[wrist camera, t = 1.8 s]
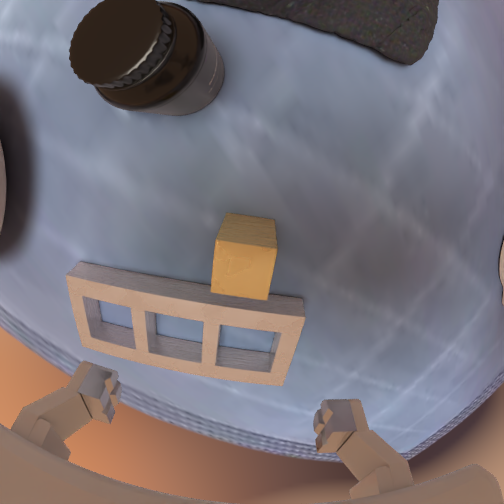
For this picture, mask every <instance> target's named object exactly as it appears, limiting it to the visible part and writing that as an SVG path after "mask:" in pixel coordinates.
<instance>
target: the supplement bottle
mask: <svg viewBox="0 0 504 504" xmlns="http://www.w3.org/2000/svg"><path fill="white" fill-rule="evenodd" d="M69 52H70V56H69V60H70V61H71V67H72V68H73V71H74V73H75V74H77V76H78V78H79V79H81V80H83V81H84V82H85V83H87V84H92V85H93V86H94V87H95V89H96V91H97V92H98V94H99V95H100V96H101V97H102V98H103V99H104V100H105V101H106V102H107V103H109V104H111V105H112V106H114V107H117V108H120V109H123V110H128V111H136V112H146V113H155V114H163V115H171V116H182V115H188V114H191V113H194V112H197V111H199V110H200V109H202V108H204V107H205V106H207V105H208V104H209V103H210V102H211V101H212V100H213V99H214V98H215V96H216V95H217V94H218V92H219V90H220V88H221V86H222V83H223V79H224V65H223V61H222V58H221V56H220V54H219V52H218V50H217V49H216V47H215V45H214V44H213V42H212V40H211V39H210V37H209V35H208V34H207V32H206V30H205V29H204V27H203V25H202V24H201V22H200V21H199V20H198V18H197V17H196V16H195V15H194V14H193V13H192V12H191V11H190V10H188V9H187V8H185V7H183V6H181V5H178V4H176V3H172V2H165V1H156V0H104V1H103V2H100V3H99V4H98V5H97V6H96V7H94V8H92V9H91V10H90V11H89V13H88V14H87V15H85V16H84V18H83V20H82V21H81V22H80V23H79V24H78V27H77V29H76V31H75V32H74V35H73V38H72V40H71V47H70V49H69Z"/></svg>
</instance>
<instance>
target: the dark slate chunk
mask: <svg viewBox="0 0 504 504" xmlns="http://www.w3.org/2000/svg"><path fill="white" fill-rule="evenodd" d="M198 1H202V2H215V3H219V4H226V5H230V6H234V7H239V8H243V9H247V10H250V11H259V12H261V13H263V14H269V15H277V16H278V17H280V18H289V19H291V20H292V21H294V22H301V23H305V24H308V25H310V26H312V27H315V28H318V29H320V30H323V31H329V32H331V33H333V32H336V33H337V34H338V35H340V36H341V37H344V38H347V39H350V40H355V41H356V42H359V43H361V44H363V45H366V46H370V47H372V48H374V49H377V50H378V51H380V52H381V53H382V54H384V55H385V56H387V57H389V58H390V59H392V60H396V61H398V62H401V63H404V64H407V65H412V64H414V63H415V62H417V61H418V60H420V59H421V58H422V57H423V55H424V53H425V51H426V50H427V49H428V45H429V43H430V41H431V40H432V38H433V34H434V29H435V25H436V23H437V18H438V16H437V14H438V8H437V6H438V3H439V0H198Z"/></svg>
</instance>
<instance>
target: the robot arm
mask: <svg viewBox="0 0 504 504" xmlns="http://www.w3.org/2000/svg"><path fill="white" fill-rule="evenodd" d="M499 270H500V279H501V282H502V285H503V299H502V304H503V305H504V242H503V246H502V250H501V256H500V267H499ZM118 377H119V375H118V372H117V371H115V370H112V369H109V368H105V367H102V366H99V365H96V364H93V363H90V362H87V361H83V362H81V363H80V365H79V366H78V368H77V370H76V371H75V373H74V375H73V377H72V378H71V380H70V382H69V384H68V385H67V387H66V388H64V387H62V388H60V389H58V390H57V391H55V392H53V393H51V394H49V395H47V396H45V397H43V398H41V399H39V400H37V401H35V402H33V403H31V404H29V405H27V406H25V407H23V409H22V410H21V412H20V413H19V415H18V417H17V419H16V420H15V422H14V424H13V426H12V428H11V429H8V428H6V427H5V426H3V425H2V424H0V504H234V503H223V502H214V501H205V500H199V499H193V498H187V497H181V496H176V495H171V494H166V493H162V492H158V491H153V490H149V489H145V488H142V487H138V486H135V485H131V484H128V483H125V482H121V481H118V480H115V479H112V478H109V477H106V476H104V475H101V474H98V473H96V472H93V471H90V470H88V469H85V468H83V467H80V466H78V465H76V464H73V463H71V462H69V461H68V458H69V456H70V453H71V452H70V450H69V448H68V447H67V446H66V444H65V443H64V442H63V441H64V440H65V439H67V438H68V437H70V436H71V435H72V434H73V433H75V432H76V431H78V430H79V429H80V428H82V427H83V426H84V425H86V424H87V423H88V422H90V421H91V420H92V419H95V420H98V421H101V422H105V423H108V424H111V421H112V419H113V416H114V414H115V410H114V408H113V407H114V406H116V405H117V404H119V401H120V398H121V393H122V387H121V383H120V382H119V381H118V380H117V379H118ZM313 426H314V431H315V432H316V433H317V434H318V437H317V438H316V439H315V441H316V448H317V453H331V452H337V453H336V454H337V455H338V456H339V457H340V459H341V460H342V461H343V462H344V464H345V465H346V466H347V467H348V468H349V470H350V471H351V472H352V473H353V474H354V476H355V477H356V478H357V479H358V480H359V483H357V484H356V485H355V486H354V487H352V488H351V489H350V490H349V492H350V498H351V499H350V500H343V501H336V502H327V503H317V504H504V500H503V497H502V493H501V489H500V486H499V483H498V481H497V479H496V477H495V476H494V475H493V474H491V473H490V472H489V471H487V470H486V469H484V468H483V467H481V466H480V465H477V464H472V465H469V466H467V467H464V468H462V469H459V470H457V471H454V472H452V473H449V474H446V475H444V476H441V477H438V478H435V479H433V480H430V481H427V482H423V483H420V484H417V485H414V482H413V479H412V475H411V472H410V469H409V465H408V462H407V460H405V459H404V458H403V457H402V456H401V455H400V454H399V453H397V452H396V451H395V450H394V449H393V448H392V447H391V446H390V445H388V444H387V443H386V442H385V441H384V440H383V439H382V438H381V437H379V436H378V435H377V434H376V433H375V432H374V431H373V430H369V427H368V424H367V421H366V417H365V414H364V410H363V407H362V404H361V401H360V400H359V399H328V400H323V401H322V403H321V409H319V410H317V412H316V414H315V416H314V423H313Z"/></svg>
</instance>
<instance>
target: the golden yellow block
mask: <svg viewBox="0 0 504 504" xmlns="http://www.w3.org/2000/svg"><path fill="white" fill-rule="evenodd" d="M277 250H278V248H277V239H276V230H275V221H274V220H273V219H266V218H260V217H253V216H247V215H240V214H233V213H226V215H225V218H224V220H223V223H222V225H221V228H220V230H219V233H218V235H217V238H216V241H215V250H214V260H213V270H212V281H211V292H212V293H219V294H225V295H231V296H238V297H245V298H252V299H259V300H266V301H267V298H268V293H269V288H270V284H271V279H272V274H273V269H274V264H275V260H276V255H277Z"/></svg>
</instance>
